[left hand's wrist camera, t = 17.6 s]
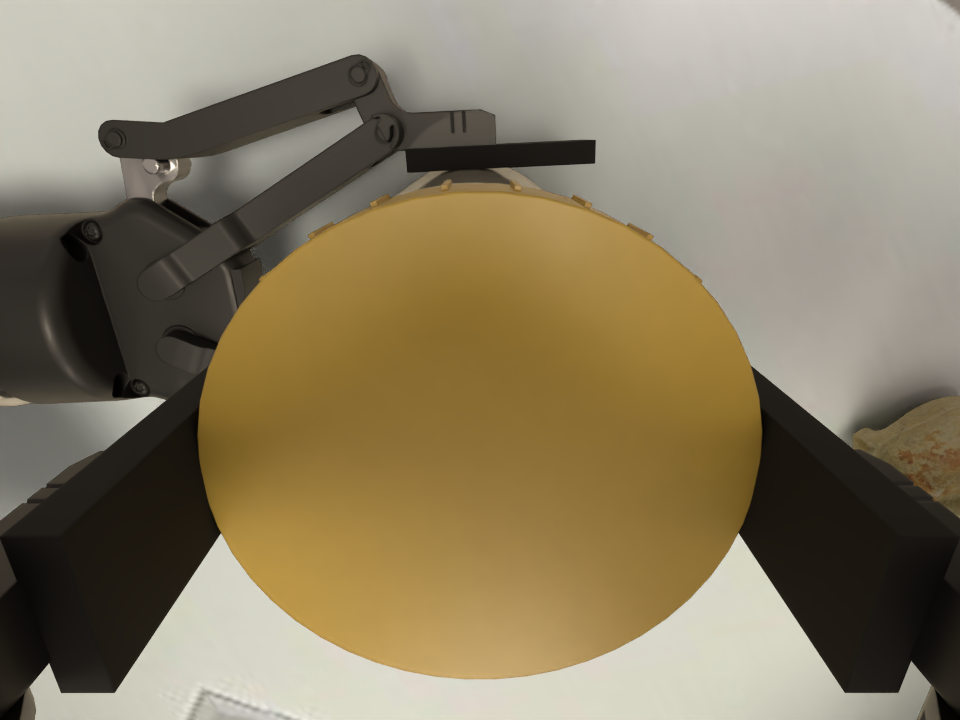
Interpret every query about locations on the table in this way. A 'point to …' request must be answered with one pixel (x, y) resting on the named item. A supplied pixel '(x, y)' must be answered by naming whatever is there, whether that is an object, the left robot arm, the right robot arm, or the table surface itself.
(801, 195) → the table surface
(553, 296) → the lid
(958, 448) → the sculpture
